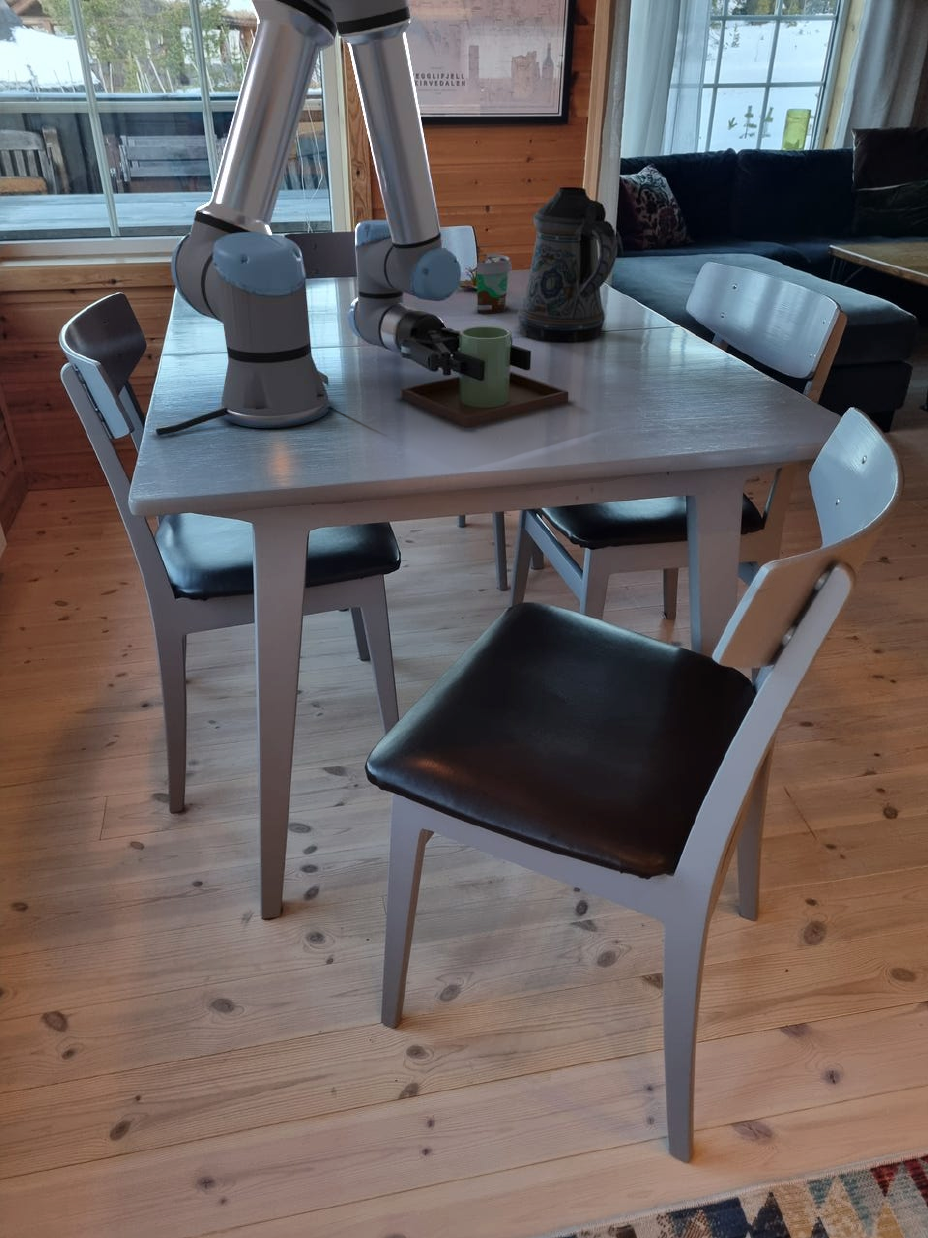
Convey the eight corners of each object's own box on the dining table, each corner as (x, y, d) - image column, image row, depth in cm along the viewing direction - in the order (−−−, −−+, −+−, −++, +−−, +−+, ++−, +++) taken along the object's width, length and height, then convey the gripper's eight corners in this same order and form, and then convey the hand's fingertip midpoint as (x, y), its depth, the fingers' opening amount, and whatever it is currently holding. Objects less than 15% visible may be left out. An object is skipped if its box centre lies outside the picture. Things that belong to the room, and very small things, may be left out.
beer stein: (536, 318, 177) (542, 181, 164) (629, 328, 170) (643, 186, 157) (503, 336, 164) (507, 189, 151) (602, 349, 157) (615, 195, 144)
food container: (505, 316, 179) (507, 264, 173) (476, 314, 180) (476, 263, 174) (514, 303, 189) (516, 253, 184) (486, 302, 190) (487, 252, 185)
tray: (467, 429, 121) (467, 417, 120) (401, 400, 132) (401, 388, 131) (567, 403, 131) (568, 391, 130) (499, 378, 142) (499, 367, 141)
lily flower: (494, 281, 209) (494, 261, 206) (505, 292, 199) (505, 270, 196) (445, 283, 207) (444, 262, 205) (453, 293, 197) (453, 272, 195)
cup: (480, 411, 127) (481, 341, 122) (450, 398, 132) (449, 330, 127) (519, 401, 131) (521, 333, 125) (488, 389, 136) (489, 323, 130)
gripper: (465, 347, 147) (557, 378, 132) (361, 368, 137) (448, 405, 121) (465, 301, 144) (560, 328, 128) (358, 319, 133) (447, 351, 117)
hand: (505, 365), depth 125 cm, fingers open, 8 cm apart
